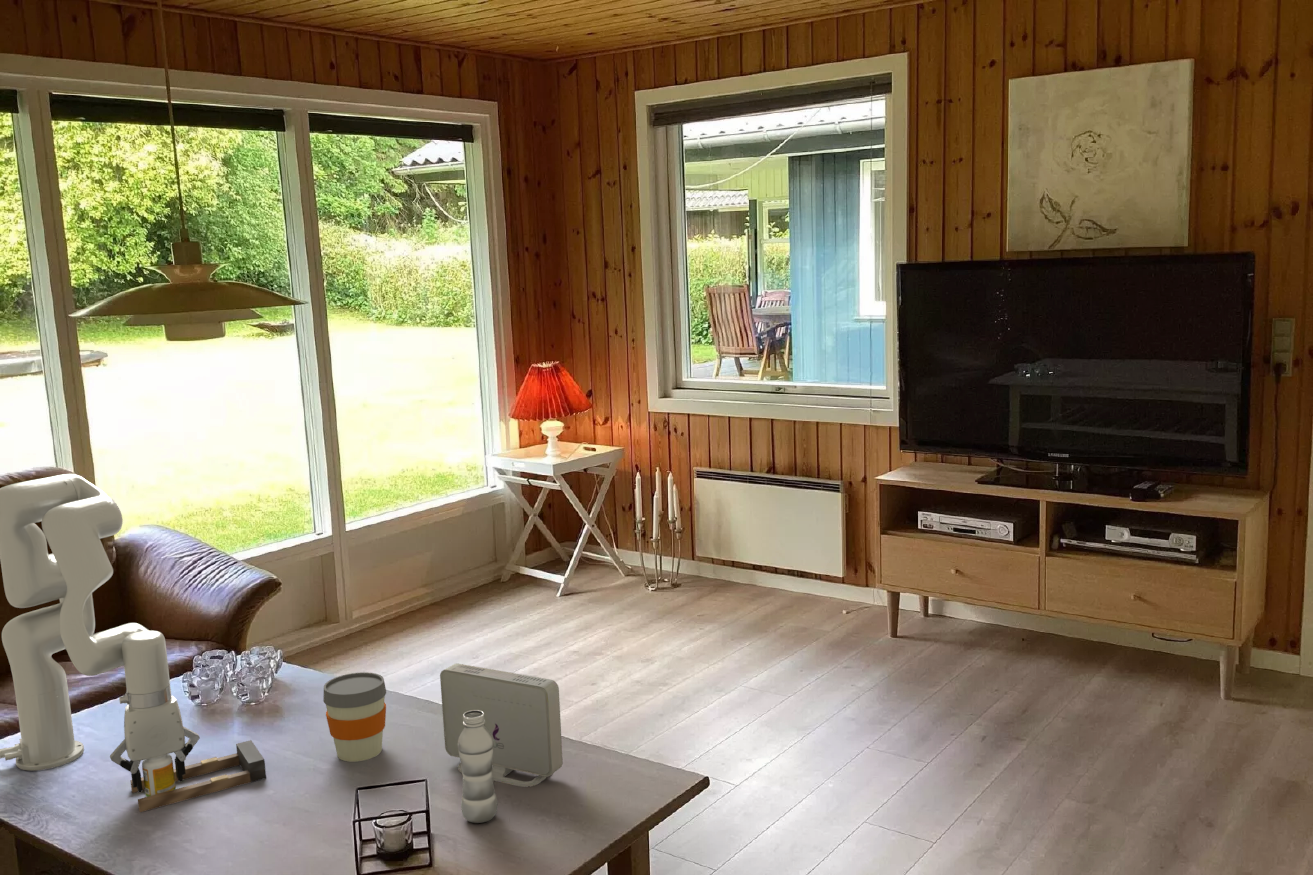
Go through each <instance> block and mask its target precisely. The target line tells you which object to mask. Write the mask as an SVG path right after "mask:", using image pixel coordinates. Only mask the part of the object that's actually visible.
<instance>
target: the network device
mask: <svg viewBox="0 0 1313 875" xmlns="http://www.w3.org/2000/svg"><path fill="white" fill-rule="evenodd" d="M439 679H440V680H439V681H440V693H441V695H440V696H441V707H442V708H441V710H442V721H443V722H442V725H443V736H444V738H443V739H444V749H445V751H446V753H447V754H448V755H449V756H451V757H455V758H459V759H460V756H459V751H458V745H457V743H458V739H459V736H460V734H461V733H462V731H463V730H464V728H465V726H464V725H463V721H464V719H463V714H464V713H465V712H467V711H471V710H480V711H482V712H483V713H484V719H485V724H484V726H485V727H486V728H487V729H488V731H489V732H490V733H491V735H492V737H493V740H494V746H493V758H492V777H493V782H494V781H495V782H500V783H503V784H506V785H507V784H508V785H510V786H511V785H512V786H517V787H522V788H526V787H527V788H528V786H530V787H534V786H536V785H539V784H540V783H542V782H543V781H544V780H546V779H547V778H548V777H550V776H552V775H553V774H554V773H555V772H557V771H558V770H559V769H561V768H562V766H563V764H564V762H563V743H562V742H563V741H562V726H561V725H562V723H561V705H560V704H561V702H560V688H559V684H558V683H557V682H556V681H555V680H554V679H552V678H551V679H549V678H545V677H539V676H532V675H528V674H522V673H515V672H509V671H503V670H498V669H497V670H496V669H494V668H493V669H491V668H487V667H486V668H485V667H480V666H474V665H468V664H465V663H454V664H452V665H450V666H449V667H446V668H445V669H443V670H441V672H440V673H439ZM457 768H458V771H459V773H461V774H462V766H461V762H460V763H459V764H458V767H457ZM513 771H517V772H523V773H528V774H531V775H536V777H535V778H533V779H532V780H529V781H522V780H519V779H518V780H517V779H514V778H510V777H506V776H507V775H508V774H510V773H512V772H513ZM546 777H547V778H546ZM542 780H543V781H542ZM541 781H542V782H541ZM533 785H534V786H533Z"/></svg>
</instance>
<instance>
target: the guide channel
mask: <svg viewBox="0 0 1313 875" xmlns="http://www.w3.org/2000/svg"><path fill="white" fill-rule="evenodd" d="M235 745H236V746H235V747H236V753H232V754H229V755H225V756H224V755H223V756H220V757H217V756H214V757H210V758H207V759H202V760H200V762H197V763H194V764H189V765H185V772H186V774H185V775H183V781H185V780H187V779H191V778H195V777H199V776H203V775H206V774H209V773H211V774H212V773H214V772H218V771H222V770H225V769H229V768H232V767H237V766H240V768H241V769H242V771H240V772H235V773H232V774H222V775H218V776H214V777H210V778H209V780H206V781H201V782H198V783H194V784H191V785H186V786H183V787H179V788H176V789H175V790H171V791H167V792H163V793H159V794H156V795H152V796H148V797H146V796H144V797H142V798H137V805H138V806H137V807H138V810H139V813H142V812H146V811H151V810H154V809H158V808H162V807H164V806H168V805H172V804H176V803H179V802H183V801H187V800H190V799H195V798H198V797H201V796H205V795H209V794H214V793H217V792H220V791H225V790H228V789H231V788H235V787H239V786H243V785H247V784H250V783H254V782H257V781H261V780H265V779H267V773H266V772H267V771H266V763H265V762H266V761H265V758H264V756H263V755H262V754H261V752H260V750H259V749H258V747H257V746H256V745H255V743H254V742H253V741H252V740H251V739H250V740H246V741H243V742H238V743H236V744H235ZM173 769H174V778H175V783H176V782H180V781H179V780H178V778H177V776H176V768H173ZM141 781H142V789H143V791H145V786H144V778H143V776H141ZM130 788H131V793H132V794H133V793H137V792H138V790H137V787H135V788H133V784H132V779H131V780H130ZM138 793H139V792H138Z"/></svg>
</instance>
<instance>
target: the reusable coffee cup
mask: <svg viewBox="0 0 1313 875" xmlns="http://www.w3.org/2000/svg"><path fill="white" fill-rule="evenodd" d="M386 695H387V688H386V683H385V678H384V677H383V676H382V675H381V674H378V673H374V672H369V671H368V672H365V671H363V672H351V673H347V674H346V673H345V674H341V675H338V676H336V677H333V678H331V679H330V680H328V681H326V683H324V685H323V700H322V701H323V703H324V704H325V708H326V712H325V717H326V721H327V725H328V729H329V733H330V736H331V738H332V739H333V741H334V742H333V743H334V747H335V751H336V755H337V758H338V759H339V760H341V761H345V762H351V763H353V762H355V763H357V762H363V761H368V760H370V759H373V758H375V757H377V756H378V755H380V753H381V752H382V751H383V735H384V733H383V732H384V730H385V727H386V718H387V715H386V714H387V704H386V703H385V698H386Z"/></svg>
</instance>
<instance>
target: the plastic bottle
mask: <svg viewBox="0 0 1313 875" xmlns="http://www.w3.org/2000/svg"><path fill="white" fill-rule="evenodd" d="M463 719H464V721H463V725H464V726H465V728H464V730H463V731H462V733H461V734H460V736H459V739H458V743H457V745H458V751H459V756H460V758H459V760H460V763H461V766H462V773H461V774H462V795H461V801H460V810H461V813H462V816H463V818H465V820H466V821H468V822H469V823H474V824H479V823H481V824H482V823H486V822H489V821H491V820H492V819H493V818H494V817H495V816H496V814H497V811H498V803H499V802H498V799H497V798H498V797H497V794H496V791H495V785H494V780H493V777H492V769H493V765H492V758H493V746H494V740H493V737H492V735H491V733H490V732H489V731H488V729H487V728H486V727H485V726H484V724H485V719H484V713H483V712H482V711H480V710H471V711H467V712H465V713H464V714H463Z"/></svg>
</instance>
